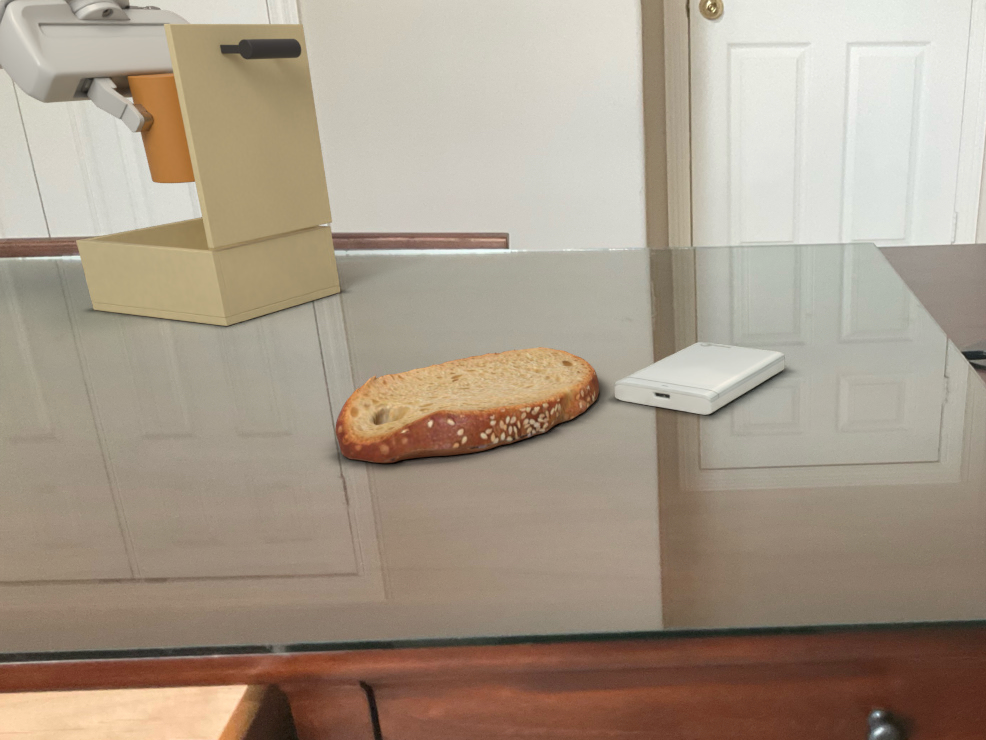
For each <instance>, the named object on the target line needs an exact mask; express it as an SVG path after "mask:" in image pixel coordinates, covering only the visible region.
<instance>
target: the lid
mask: <svg viewBox="0 0 986 740" xmlns="http://www.w3.org/2000/svg"><path fill="white" fill-rule="evenodd" d="M164 28H165V33H166V38H167V43H168V48H169V53H170V58H171V63H172V68H173V73H174V78H175V83H176V88H177V93H178V98H179V103H180V108H181V113H182V118H183V123H184V128H185V133H186V138H187V143H188V148H189V153H190V158H191V163H192V168H193V173H194V178H195V182H194V183H195V187H196V194H197V197H198V203H199V208H200V214H201V217H202V219H203V224H204V229H205V234H206V239H207V244H208V248H217V247H222V246H226V245H231V244H236V243H240V242H245V241H249V240H254V239H259V238H263V237H268V236H272V235H277V234H281V233H286V232H291V231H295V230H300V229H304V228H309V227H314V226H318V225H319V226H324V225H326V224H327V225H328V224H331V223H333V217H332V211H331V204H330V198H329V192H328V184H327V177H326V171H325V164H324V158H323V149H322V143H321V137H320V131H319V125H318V117H317V111H316V104H315V98H314V91H313V85H312V77H311V69H310V63H309V58H308V50H307V44H306V38H305V30H304V24H302V23H190V24H164Z"/></svg>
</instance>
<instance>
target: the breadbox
mask: <svg viewBox="0 0 986 740" xmlns="http://www.w3.org/2000/svg"><path fill="white" fill-rule="evenodd" d="M75 243H76V246H77V249H78V255H79V258H80V261H81V265H82V270H83V273H84V277H85V281H86V284H87V285H86V286H87V288H88V289H87V290H88V292H89V296H90V300H91V304H92V308H93V310H94V311H100V312H107V313H117V314H124V315H132V316H142V317H149V318H157V319H165V320H173V321H182V322H189V323H190V322H191V323H198V324H207V325H213V326H222V327H230V326H232V325H236V324H239V323H242V322H245V321H246V322H247V321H249V320H252V319H255V318H259V317H262V316H266V315H269V314H272V313H276V312H279V311H283V310H285V309H289V308H292V307H295V306H299V305H303V304H306V303H309V302H313V301H317V300H319V299H323V298H325V297H330V296H333V295H336V294H340V293H341V286H340V278H339V272H338V267H337V266H338V265H337V260H336V254H335V247H334V240H333V234H332V228H331V225H318V226H314V227H309V228H304V229H300V230H295V231H291V232H286V233H281V234H277V235H272V236H268V237H263V238H259V239H254V240H249V241H245V242H240V243H236V244H231V245H226V246H222V247H217V248H208V244H207V239H206V234H205V229H204V224H203V219H202V216H200V217H195V218H190V219H183V220H179V221H173V222H168V223H161V224H157V225H151V226H147V227H142V228H135V229H130V230H126V231H119V232H114V233H108V234H104V235H103V234H102V235H98V236H93V237H87V238H82V239H77V240H75Z"/></svg>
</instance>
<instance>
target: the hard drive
mask: <svg viewBox="0 0 986 740" xmlns="http://www.w3.org/2000/svg"><path fill="white" fill-rule="evenodd" d="M785 368H786V356H785V354H784V353H783V352H782V351H781V352H780V351H776V350H769V349H761V348H754V347H748V346H747V347H746V346H738V345H731V344H721V343H715V342H708V341H707V342H706V341H697V342H695V343H694V344H691V345H689V346H686V347H685V348H683V349H681V350H678V351H676V352H675V353H672V354H670V355H668V356H665V357H664V358H662V359H660V360H658V361H656V362H654V363H651V364H650V365H647V366H645V367H643V368H642V369H639V370H637V371H634V372H633V373H631V374H628V375H627V376H624V377H623V378H621V379H619V380H617V381H615V382H614V387H613V388H614V397H615V398H616V399H617V400H619V401H622V402H628V403H633V404H639V405H646V406H652V407H658V408H662V409H669V410H673V411H674V410H675V411H680V412H686V413H690V414H697V415H703V416H706V415H710V414H713V413H714V412H716V411H718V410H719V409H721V408H722V407H724V406H726V405H727V404H729V403H731V402H732V401H734V400H736V399H737V398H739V397H741V396H742V395H744V394H745V393H747V392H749V391H751V390H752V389H754V388H756V387H757V386H759V385H761V384H762V383H764V382H765V381H767V380H769V379H771V378H772V377H773V376H775V375H777V374H779V373H780V372H782V371H783V370H785Z"/></svg>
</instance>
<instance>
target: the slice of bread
mask: <svg viewBox="0 0 986 740" xmlns="http://www.w3.org/2000/svg"><path fill="white" fill-rule="evenodd" d="M599 394H600V383H599V378H598V374H597V372H596V370H595V368H594V367H593V366H592V365H591V364H590V363H589V362H588V361H587V360H586V359H584V358H582V357H581V356H578V355H575V354H573V353H570V352H568V351H567V350H561V349H555V348H550V347H545V346H544V347H543V346H539V347H531V348H523V349H512V350H507V351H506V350H505V351H502V352H493V353H490V352H488V353H485V354H482V355H481V354H480V355H473V356H472V355H471V356H468V357H463V358H458V359H453V360H447V361H445V362H442V363H440V364H434V363H433V364H432V365H429V366H426V367H417V368H414V369H410V370H408V371H402V372H398V373H390V374H389V373H387V374H384V375H381V376H378V377H377V374H375V375H374V376H371V377H369V379H368V380H367V381H365V383H364V384H363V385H361V386H360V387H357V388H356V390H355V389H354V391H353V392H352V394H351V395H349V397H348V398H347V399H346V401H345V402H344V404H343V405H342V408H341V410H340V412H339V414H338V416H337V418H336V422H335V429H334V431H335V436H336V439H337V443H338V445H339V450H340V452H341V454H342V455H343V456H344V457H345V458H347V459H350V460H356V461H364V462H369V463H375V464H376V463H377V464H392V463H396V462H399V461H404V460H409V459H419V458H426V457H427V458H428V457H447V456H455V455H456V456H457V455H463V454H472V453H478V452H479V453H480V452H483V451H487V450H491V449H493V448H496V447H499V446H505V445H510V444H514V443H515V442H519V441H522V440H526V439H529V438H531V437H533V436H538V435H540V434H545V433H547V432H548V431H550V429H552V428H553V427H555V426H556V425H558V424H562V423H564V422H568V421H571V420H573V419H575V418H576V417H578V416H579V415H582V414H584V413H585V412H586V411H587V409H588V408H589V407H590V406H591V405H593V404H594V403H595V402H596V401H597V400H598V397H599Z"/></svg>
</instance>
